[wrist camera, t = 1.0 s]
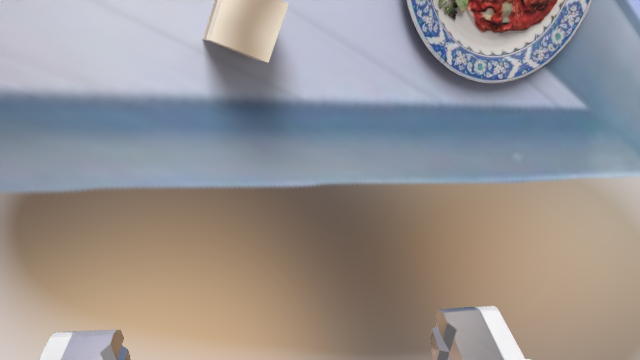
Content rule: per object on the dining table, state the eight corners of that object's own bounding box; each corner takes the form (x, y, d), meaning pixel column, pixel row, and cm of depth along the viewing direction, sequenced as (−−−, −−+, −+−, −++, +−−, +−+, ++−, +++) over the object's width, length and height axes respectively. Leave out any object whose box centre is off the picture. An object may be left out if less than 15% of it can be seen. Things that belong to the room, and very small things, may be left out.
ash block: (202, 39, 43) (209, 39, 35) (218, -14, 42) (229, -24, 34) (251, 58, 44) (268, 62, 37) (268, 9, 44) (288, 3, 36)
